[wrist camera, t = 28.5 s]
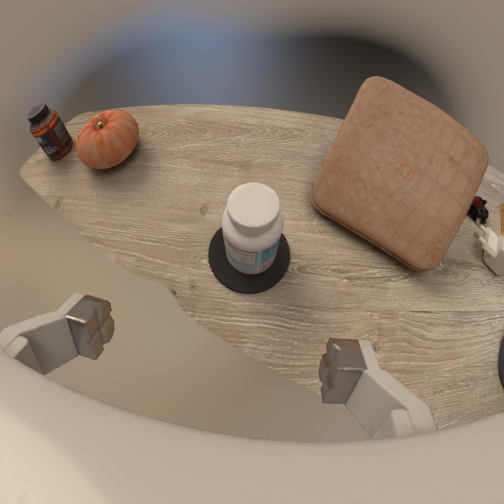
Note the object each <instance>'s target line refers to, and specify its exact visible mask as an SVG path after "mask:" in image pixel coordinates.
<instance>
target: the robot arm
mask: <svg viewBox="0 0 504 504" xmlns="http://www.w3.org/2000/svg"><path fill="white" fill-rule="evenodd" d="M111 311H112V309H111V305H110V302H108V301H107V300H103V299H100V298H96V297H93V296H90V295H85V294H82V293H79V292H78V293H75V294H74V295H72V297H70V298H69V299H68V300H67V301H66V302H65V303H64V304H63V305H62V306H61V307H60V308H59V309H58V310H56V312H49V313H47V314H43V315H40V316H37V317H34V318H32V319H28V320H25V321H23V322H19V323H16V324H13V325H10V326H7V327H6V328H5V329H4V330H3V331H2V332H1V333H0V504H504V411H503V412H500V413H497V414H494V415H491V416H488V417H485V418H482V419H479V420H475V421H472V422H468V423H465V424H461V425H457V426H453V427H449V428H445V429H440V430H438V428H437V425H436V423H435V420H434V417H433V415H432V412H431V410H430V407H429V405H428V404H427V403H425V402H424V401H423V400H422V399H420V398H419V397H418V396H417V395H415V394H414V393H413V392H412V391H410V390H409V389H408V388H407V387H405V386H404V385H403V384H402V383H400V382H399V381H398V380H397V379H395V378H394V377H393V376H392V375H391V374H389V373H388V372H387V371H386V370H381V367H380V364H379V362H378V359H377V356H376V354H375V351H374V349H373V346H372V344H371V341H370V340H361V339H356V340H352V339H338V338H330V339H329V340H328V342H327V345H326V349H327V353H325V354H324V355H323V356H322V359H321V361H320V367H319V379H320V381H321V382H322V383H323V385H322V387H321V394H322V402H323V403H332V404H345V406H346V407H347V408H348V410H349V411H350V412H351V413H352V415H353V416H354V417H355V418H356V420H357V421H358V422H359V423H360V425H361V426H362V427H363V428H364V429H365V431H366V432H367V433H368V434H369V435H370V437H371V438H370V439H369V440H362V441H339V442H305V441H304V442H303V441H283V440H270V439H259V438H250V437H241V436H235V435H228V434H221V433H216V432H210V431H205V430H200V429H195V428H190V427H186V426H182V425H177V424H173V423H169V422H165V421H162V420H158V419H154V418H151V417H147V416H144V415H141V414H137V413H134V412H131V411H128V410H125V409H122V408H119V407H116V406H113V405H111V404H108V403H106V402H103V401H100V400H98V399H95V398H93V397H90V396H88V395H85V394H83V393H80V392H78V391H76V390H74V389H72V388H69V387H67V386H65V385H63V384H61V383H59V382H57V381H55V380H53V379H51V378H49V377H47V376H45V374H47V373H49V372H51V371H53V370H54V369H56V368H58V367H60V366H61V365H63V364H65V363H67V362H68V361H70V360H72V359H74V358H75V357H77V356H78V354H79V355H81V356H84V357H87V358H90V359H93V360H97V358H98V357H99V356H100V354H101V353H102V351H103V350H104V348H103V345H104V344H106V343H108V342H109V341H110V340H111V338H112V336H113V333H114V320H113V318H112V317H111V316H110V312H111Z"/></svg>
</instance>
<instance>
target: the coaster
mask: <svg viewBox="0 0 504 504" xmlns="http://www.w3.org/2000/svg"><path fill="white" fill-rule="evenodd" d="M208 256H209V263H210V267H211V269H212V272H213V273H214V275H215V277H216V278H217V279H218V280H219V281H220V282H221V283H222V284H223V285H224V286H226V287H227V288H229V289H231V290H233V291H236V292H240V293H246V294H253V293H259V292H263V291H265V290H268V289H270V288H271V287H273V286H274V285H276V284H277V283H278V282H279V281H280V280H281V279H282V277H283V276H284V274H285V272H286V270H287V268H288V265H289V260H290V251H289V246H288V243H287V240H286V239H285V237H284V235H283V234H281V238H280V241H279V245H278V249H277V252H276V256H275V259H274V261H273V263H272V264H271V265H270V267H269V268H267V269H266V270H265V271H263V272H261V273H257V274H245V273H242V272H239V271H238V270H236V269H235V268H234V267H233V266H232V265H231V264H230V262H229V260H228V258H227V255H226V249H225V243H224V237H223V231H222V227H221V228H220V229H219V230H218V231H217V232H216V233H215V235H214V236H213V238H212V240H211V243H210V246H209V254H208Z"/></svg>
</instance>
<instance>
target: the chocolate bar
mask: <svg viewBox="0 0 504 504" xmlns="http://www.w3.org/2000/svg"><path fill="white" fill-rule="evenodd" d="M501 235H504V204H501Z"/></svg>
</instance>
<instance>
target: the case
mask: <svg viewBox="0 0 504 504" xmlns="http://www.w3.org/2000/svg"><path fill="white" fill-rule="evenodd" d="M487 166H488V152H487V149H486V147H485V146H484V144H483V143H482V142H481V141H480V140H479V139H478V138H477V137H476V136H474V135H473V134H472V133H470V132H469V131H468V130H466V129H465V128H464V127H463V126H461V125H460V124H459V123H458V122H456V121H455V120H454V119H453V118H452V117H450V116H449V115H447V114H446V113H444V112H443V111H442V110H440V109H439V108H437V107H436V106H434V105H433V104H431V103H430V102H428V101H426V100H424V99H423V98H421V97H419V96H417V95H415V94H414V93H412V92H410V91H408V90H407V89H405V88H403V87H401V86H400V85H398V84H396V83H394V82H392V81H390V80H388V79H385V78H382V77H377V76H375V77H371V78H368V79H367V80H365V81H364V83H363V84H362V86H361V88H360V90H359V92H358V94H357V96H356V98H355V100H354V103H353V104H352V107H351V109H350V110H349V112H348V114H347V116H346V118H345V120H344V122H343V125H342V127H341V129H340V131H339V133H338V135H337V137H336V139H335V141H334V143H333V145H332V147H331V149H330V151H329V153H328V155H327V157H326V159H325V161H324V163H323V164H322V166H321V168H320V170H319V172H318V174H317V176H316V178H315V180H314V182H313V185H312V190H311V203H312V205H313V207H314V208H315V209H316V210H317V211H318V212H319V213H321V214H323V215H324V216H326V217H328V218H330V219H332V220H333V221H335V222H337V223H338V224H340V225H342V226H344V227H345V228H347V229H349V230H350V231H352V232H354V233H356V234H357V235H359V236H360V237H362V238H364V239H365V240H367V241H369V242H370V243H372V244H374V245H375V246H377V247H378V248H380V249H381V250H383V251H384V252H386V253H388V254H389V255H391V256H392V257H394V258H396V259H397V260H398V261H400V262H401V263H403V264H404V265H406V266H407V267H409V268H411V269H412V270H414V271H417V272H421V271H424V270H431V269H433V268H435V267H436V266H437V265H438V264H439V263H440V261H441V260H442V258H443V257H444V255H445V253H446V251H447V250H448V248H449V246H450V244H451V242H452V241H453V239H454V237H455V235H456V233H457V231H458V230H459V228H460V226H461V224H462V222H463V220H464V218H465V216H466V214H467V212H468V210H469V208H470V205H471V203H472V201H473V199H474V197H475V195H476V193H477V190H478V188H479V186H480V184H481V181H482V179H483V176H484V174H485V172H486V169H487Z"/></svg>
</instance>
